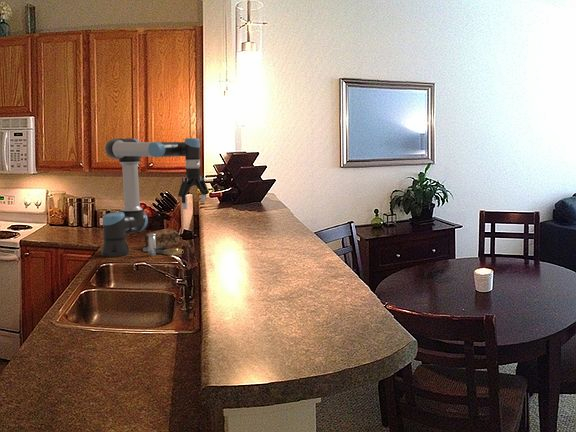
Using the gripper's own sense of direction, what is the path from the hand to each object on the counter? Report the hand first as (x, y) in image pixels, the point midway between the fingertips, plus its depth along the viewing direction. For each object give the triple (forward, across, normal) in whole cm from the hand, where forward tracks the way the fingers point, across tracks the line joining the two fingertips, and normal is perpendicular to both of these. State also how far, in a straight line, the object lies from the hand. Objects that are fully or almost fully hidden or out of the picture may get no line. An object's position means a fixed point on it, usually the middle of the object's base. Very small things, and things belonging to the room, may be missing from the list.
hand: (194, 208), depth 288 cm
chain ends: (+28, +4, +30) cm, 41 cm away
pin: (+28, -5, +28) cm, 40 cm away
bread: (+28, +17, +45) cm, 56 cm away
